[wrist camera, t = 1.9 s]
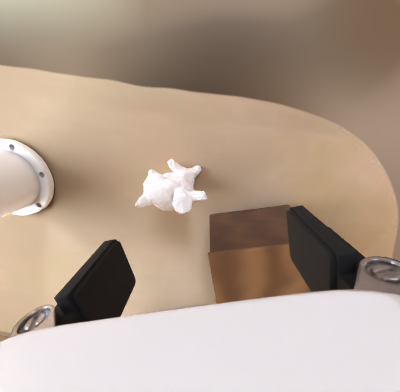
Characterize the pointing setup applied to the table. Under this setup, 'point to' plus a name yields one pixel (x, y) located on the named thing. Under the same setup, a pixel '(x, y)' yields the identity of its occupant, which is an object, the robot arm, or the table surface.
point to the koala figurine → (171, 189)
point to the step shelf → (252, 255)
